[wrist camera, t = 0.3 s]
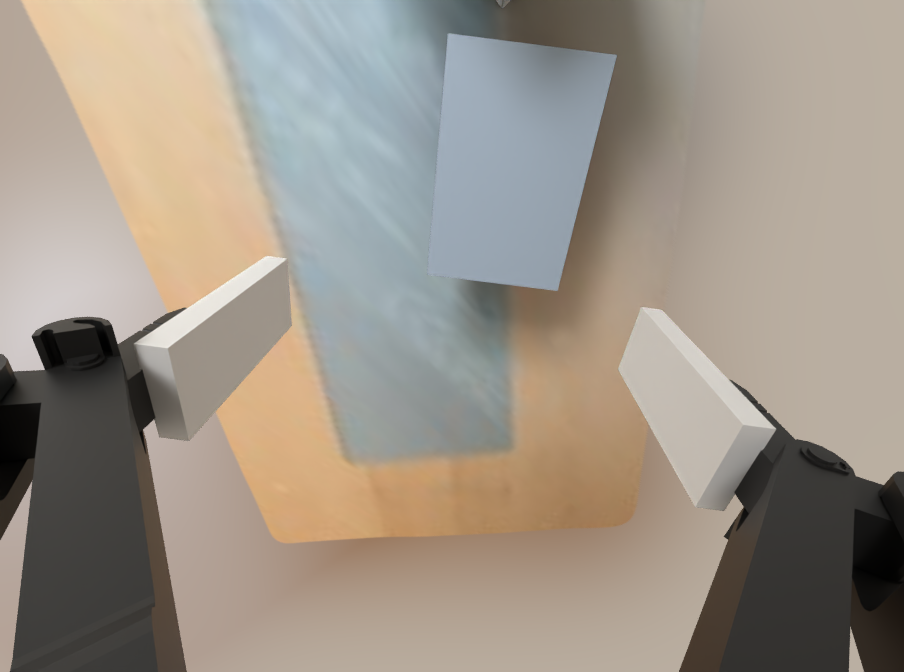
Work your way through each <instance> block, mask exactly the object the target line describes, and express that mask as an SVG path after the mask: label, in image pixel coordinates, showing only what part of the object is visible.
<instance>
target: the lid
mask: <svg viewBox="0 0 904 672" xmlns="http://www.w3.org/2000/svg"><path fill="white" fill-rule="evenodd" d="M616 57H617V55H614V54H606V53H598V52H590V51H583V50H575V49H567V48H559V47H551V46H544V45H536V44H528V43H520V42H512V41H505V40H497V39H489V38H481V37H473V36H466V35H458V34H450V33H448V38H447V49H446V61H445V72H444V84H443V95H442V107H441V118H440V130H439V141H438V153H437V164H436V176H435V187H434V199H433V211H432V222H431V234H430V245H429V257H428V268H427V275H434V276H442V277H450V278H458V279H466V280H474V281H482V282H490V283H498V284H506V285H514V286H522V287H530V288H538V289H546V290H554V291H558V287H559V283H560V279H561V275H562V271H563V267H564V263H565V259H566V255H567V251H568V247H569V243H570V240H571V236H572V232H573V228H574V224H575V220H576V216H577V212H578V208H579V204H580V200H581V196H582V192H583V188H584V184H585V180H586V176H587V172H588V168H589V164H590V160H591V156H592V152H593V148H594V144H595V140H596V137H597V133H598V129H599V125H600V121H601V117H602V113H603V109H604V105H605V101H606V97H607V93H608V89H609V85H610V81H611V77H612V73H613V69H614V65H615V61H616Z"/></svg>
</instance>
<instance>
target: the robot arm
mask: <svg viewBox="0 0 904 672" xmlns="http://www.w3.org/2000/svg"><path fill="white" fill-rule="evenodd" d="M291 326H292V321H291V306H290V291H289V276H288V261H287V259H285V258H278V257H271V256H266V257H264V258H263V259H261V260H260V261H258V262H257V263H255V264H254V265H252V266H251V267H249V268H247V269H246V270H244V271H243V272H241V273H240V274H238V275H237V276H235V277H234V278H232V279H231V280H229V281H228V282H226V283H225V284H223V285H222V286H220V287H219V288H217V289H216V290H214V291H213V292H211V293H210V294H208V295H207V296H205V297H204V298H202V299H200V300H199V301H197V302H196V303H194V304H193V305H191V306H190V307H188V308H182V309H179V310H176V311H173V312H170V313H167V314H165V315H164V316H162V317H161V318H159V319H157V320H156V321H154V322H153V324H150V325H148V326H146V327H145V328H143V330H142V331H138V332H137V333H135V334H134V335H132V336H131V337H129V338H128V339H126V340H124V341H123V342H121V343H120V344H117V341H116V338H115V334H114V331H113V328H112V325H111V323H110V322H109V321H108V320H105V319H102V318H96V317H79V318H71V319H65V320H60V321H57V322H54V323H51V324H48V325H45V326H43V327H42V328H40V329H38V330H36V331H35V333H34V334H33V335H32V339H33V341H34V344H35V346H36V348H37V351H38V353H39V356H40V358H41V361H42V363H43V366H44V368H45V370H39V371H17V372H13V370H12V368H11V366H10V364H9V361H8V359H7V358H6V357H5V356H4V355H2V354H0V540H1V538H2V536H3V534H4V532H5V530H6V529H7V527H8V525H9V523H10V521H11V519H12V517H13V515H14V514H15V512H16V510H17V508H18V506H19V504H20V502H21V500H22V498H23V497H24V495H25V493H26V491H27V489H28V487H29V485H30V483H31V482H32V490H31V499H30V508H29V517H28V526H27V535H26V544H25V553H24V562H23V570H22V579H21V588H20V598H19V607H18V615H17V624H16V633H15V643H14V651H13V660H12V665H11V670H10V672H187V671H186V665H185V660H184V654H183V648H182V643H181V637H180V631H179V626H178V620H177V614H176V609H175V603H174V597H173V592H172V586H171V580H170V575H169V569H168V563H167V557H166V552H165V546H164V540H163V535H162V529H161V523H160V518H159V512H158V506H157V500H156V495H155V489H154V483H153V478H152V472H151V466H150V461H149V455H148V449H147V443H146V439H145V435H144V432H143V429H144V428H145V427H146V426H147V425H148V424H149V423H150V422H152V421H153V419H154V420H155V423H156V427H157V430H158V434H159V437H162V438H170V439H177V440H186V441H190V440H191V438H192V437H193V436H194V435H195V434H196V433H197V432H198V431H199V429H200V428H201V427H202V426H203V425H204V424H205V423H206V422H207V420H208V419H209V418H210V417H211V416H212V415H213V414H214V413H215V411H216V410H217V409H218V408H219V407H220V406H221V405H222V404H223V402H224V401H225V400H226V399H227V398H228V397H229V396H230V395H231V393H232V392H233V391H234V390H235V389H236V388H237V387H238V386H239V384H240V383H241V382H242V381H243V380H244V379H245V378H246V377H247V375H248V374H249V373H250V372H251V371H252V370H253V369H254V368H255V366H256V365H257V364H258V363H259V362H260V361H261V360H262V359H263V357H264V356H265V355H266V354H267V353H268V352H269V351H270V350H271V348H272V347H273V346H274V345H275V344H276V343H277V342H278V341H279V339H280V338H281V337H282V336H283V335H284V334H285V333H286V332H287V330H288V329H289V328H290V327H291ZM618 370H619V372H620V374H621V376H622V377H623V379H624V381H625V383H626V385H627V386H628V388H629V390H630V392H631V394H632V395H633V397H634V399H635V401H636V403H637V404H638V406H639V408H640V410H641V411H642V413H643V415H644V417H645V419H646V420H647V422H648V424H649V426H650V428H651V429H652V431H653V433H654V435H655V437H656V438H657V440H658V442H659V444H660V445H661V447H662V449H663V451H664V452H665V454H666V456H667V458H668V460H669V462H670V463H671V465H672V467H673V469H674V470H675V472H676V474H677V476H678V478H679V479H680V481H681V483H682V485H683V486H684V488H685V490H686V492H687V494H688V496H689V497H690V499H691V501H692V503H693V504H694V506H695V507H698V508H705V509H713V510H720V511H724V510H725V509H726V507H727V505H728V504H729V503H730V501H731V499H732V498H733V496H734V495H735V494H736V496H737V497H738V499H739V500H740V502H741V503H742V505H743V506H744V508H743V509H742V510H741V512H740V513H739V515H738V517H737V518H736V519H735V521H734V522H733V524H732V525H731V527H730V528H729V530H728V531H727V533H726V534H725V536H724V537H725V538H727V539H728V542H727V545H726V548H725V550H724V553H723V556H722V559H721V561H720V564H719V566H718V569H717V572H716V574H715V577H714V580H713V582H712V585H711V588H710V590H709V593H708V596H707V598H706V601H705V604H704V606H703V609H702V612H701V614H700V617H699V620H698V622H697V625H696V628H695V630H694V633H693V636H692V638H691V641H690V644H689V647H688V649H687V652H686V654H685V657H684V660H683V662H682V665H681V668H680V670H679V672H849V647H850V626H851V629H852V633H853V636H854V639H855V642H856V646H857V649H858V653H859V656H860V659H861V663H862V666H863V669H864V672H904V472H896V473H895V474H893V475H892V477H891V478H890V479H889V480H888V481H887V482H886V484H885V485H881V484H878V483H875V482H872V481H869V480H865V479H862V478H859V477H856V476H855V473H854V471H853V469H852V468H851V467H850V466H849V465H848V464H847V463H846V461H844V460H843V459H841V458H840V457H839V456H837V455H836V454H835V453H833V452H831V451H829V450H827V449H825V448H823V447H822V446H819V445H816V444H813V443H811V442H808V441H803V440H798V439H797V440H795V439H794V438H793V437H792V436H791V435H790V434H789V433H788V432H787V431H786V430H785V429H784V428H783V427H782V426H781V425H780V424H779V423H778V422H777V421H776V420H775V419H774V418H773V417H772V416H771V415H770V414H769V413H767V410H765V408H764V407H763V406H762V405H761V404H758V402H757V400H755V398H754V397H753V396H752V395H751V394H750V393H749V392H748V391H747V390H745V389H744V388H742V387H741V386H739V385H738V384H736V383H735V382H733V381H732V380H729V379H728V378H727V377H726V376H725V375H724V374H723V373H722V372H721V371H720V370H719V369H718V368H717V367H716V366H715V365H714V364H713V363H712V362H711V361H710V360H709V359H708V358H707V356H705V354H704V353H703V352H702V351H701V350H700V349H699V348H698V347H697V346H696V345H695V344H694V343H693V342H692V341H691V340H690V339H689V338H688V337H687V336H686V335H685V333H684V332H682V331H681V329H680V328H679V327H678V326H677V325H676V324H675V323H674V322H673V321H672V320H671V319H670V318H669V317H668V316H667V315H666V314H665V313H664V312H663V311H662V310H661V309H653V308H646V307H641V309H640V311H639V314H638V317H637V319H636V322H635V325H634V327H633V330H632V333H631V336H630V338H629V341H628V344H627V346H626V349H625V352H624V354H623V357H622V360H621V362H620V365H619V368H618ZM32 480H33V481H32Z"/></svg>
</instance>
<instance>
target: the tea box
mask: <svg viewBox="0 0 904 672" xmlns="http://www.w3.org/2000/svg"><path fill="white" fill-rule="evenodd" d="M496 1H497V3H498V4H499V5H500V7H501V8H504V7H505V6H506V5H507V4H508V3H509V2H510V1H511V0H496Z"/></svg>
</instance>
